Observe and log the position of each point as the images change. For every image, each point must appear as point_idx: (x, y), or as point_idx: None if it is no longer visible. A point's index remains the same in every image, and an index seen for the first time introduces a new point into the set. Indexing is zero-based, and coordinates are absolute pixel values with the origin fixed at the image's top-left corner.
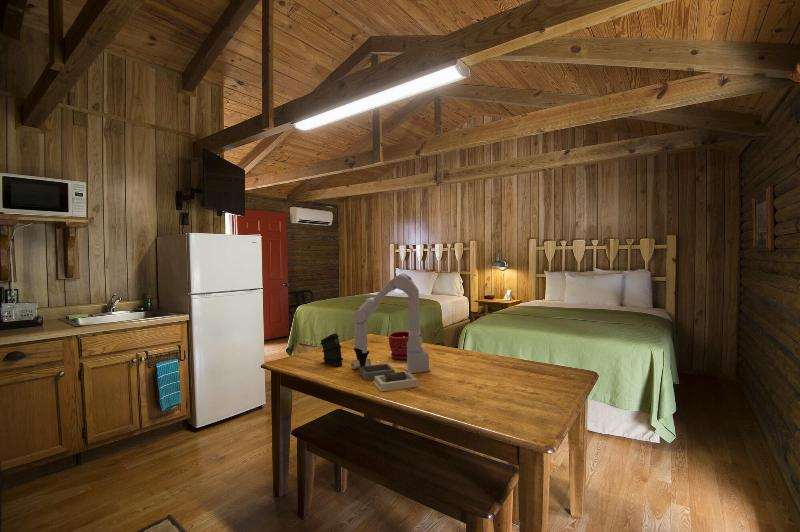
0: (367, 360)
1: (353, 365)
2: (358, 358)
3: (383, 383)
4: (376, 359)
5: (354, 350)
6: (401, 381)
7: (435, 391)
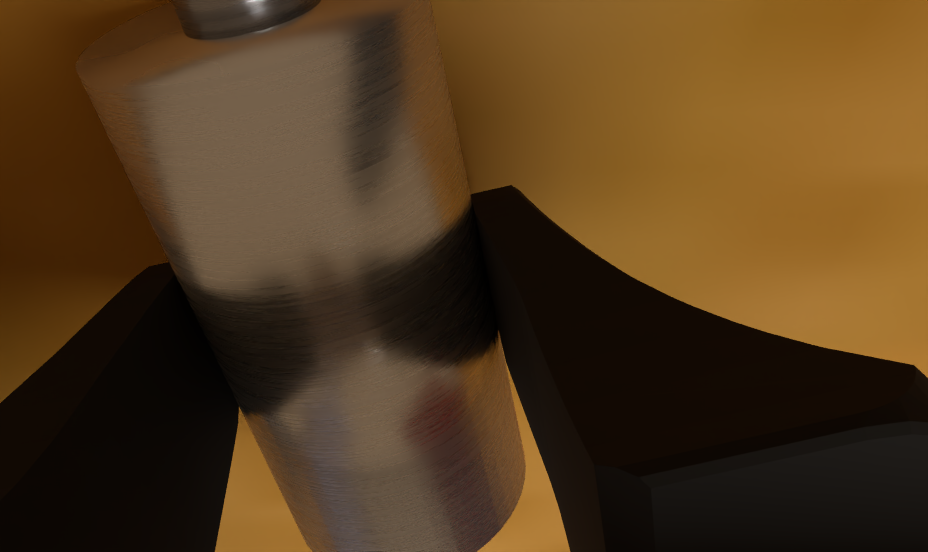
0: (317, 518)
1: (148, 40)
2: (503, 295)
3: None
4: None
5: (807, 365)
6: None
7: None
